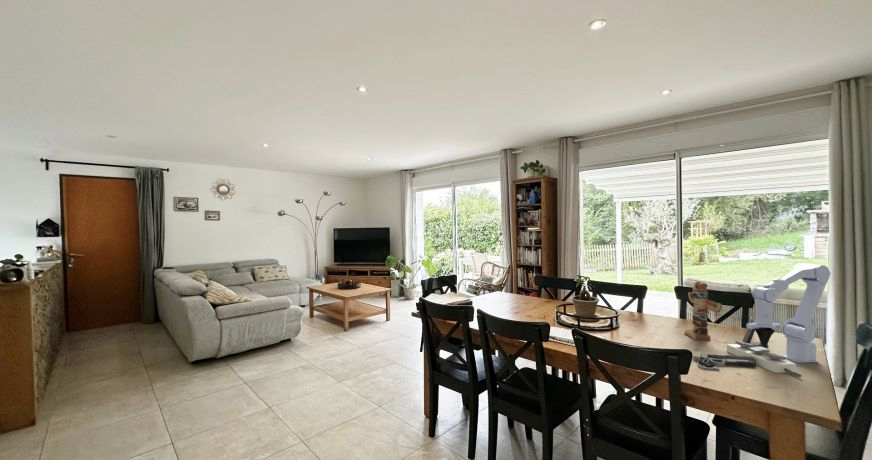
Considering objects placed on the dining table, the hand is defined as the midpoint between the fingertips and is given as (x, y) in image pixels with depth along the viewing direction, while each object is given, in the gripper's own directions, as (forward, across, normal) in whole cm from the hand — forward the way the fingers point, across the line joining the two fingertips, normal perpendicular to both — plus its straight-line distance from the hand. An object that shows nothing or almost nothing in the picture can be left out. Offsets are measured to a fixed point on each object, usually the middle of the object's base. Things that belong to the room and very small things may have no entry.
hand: (763, 344), depth 161 cm
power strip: (+8, -2, -3) cm, 9 cm away
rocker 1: (+3, -2, +7) cm, 8 cm away
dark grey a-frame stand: (+8, +16, +21) cm, 27 cm away
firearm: (+8, -21, -3) cm, 22 cm away
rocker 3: (+3, -2, -7) cm, 8 cm away
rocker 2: (+3, -2, 0) cm, 4 cm away
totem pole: (+8, -5, +33) cm, 34 cm away
